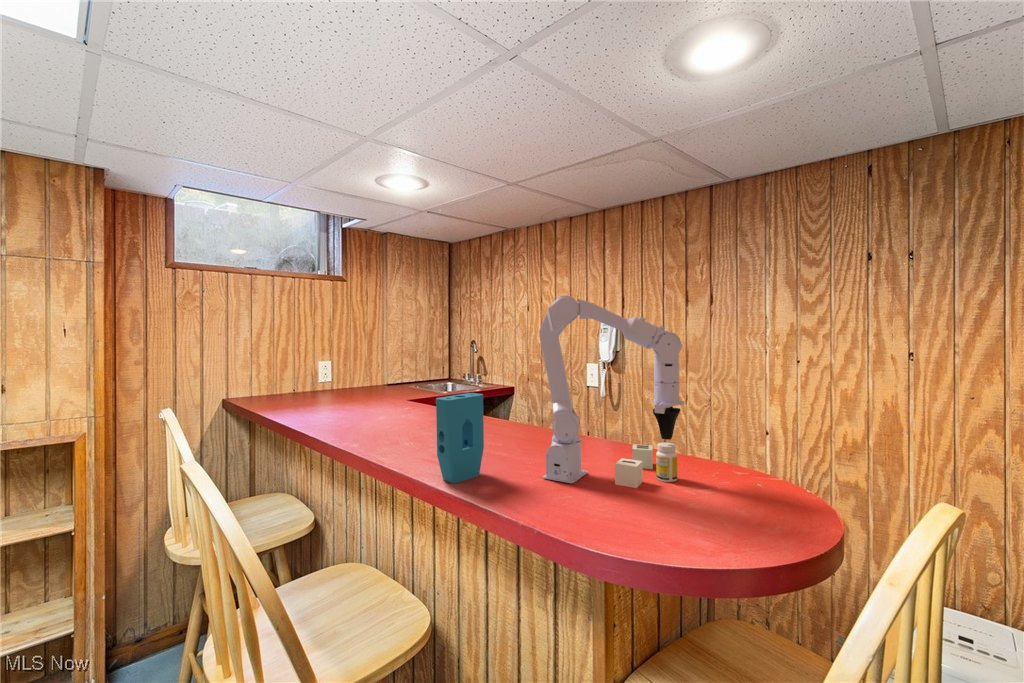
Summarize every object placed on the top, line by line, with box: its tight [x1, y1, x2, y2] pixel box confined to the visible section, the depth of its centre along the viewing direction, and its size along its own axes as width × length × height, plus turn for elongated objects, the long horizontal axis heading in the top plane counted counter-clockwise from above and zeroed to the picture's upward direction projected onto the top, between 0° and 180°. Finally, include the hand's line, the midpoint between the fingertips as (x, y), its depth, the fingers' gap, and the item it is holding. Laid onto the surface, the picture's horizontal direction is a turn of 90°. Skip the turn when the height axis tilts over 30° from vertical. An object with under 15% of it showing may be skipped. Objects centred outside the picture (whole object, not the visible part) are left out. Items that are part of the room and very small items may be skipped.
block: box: [435, 392, 485, 484], centre depth 113 cm, size 12×5×20 cm, turn 138°
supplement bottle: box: [655, 442, 678, 483], centre depth 110 cm, size 5×5×8 cm
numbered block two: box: [631, 443, 654, 470], centre depth 121 cm, size 5×5×5 cm
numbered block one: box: [614, 457, 644, 489], centre depth 108 cm, size 5×5×5 cm
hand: (666, 438), depth 110 cm, fingers closed
